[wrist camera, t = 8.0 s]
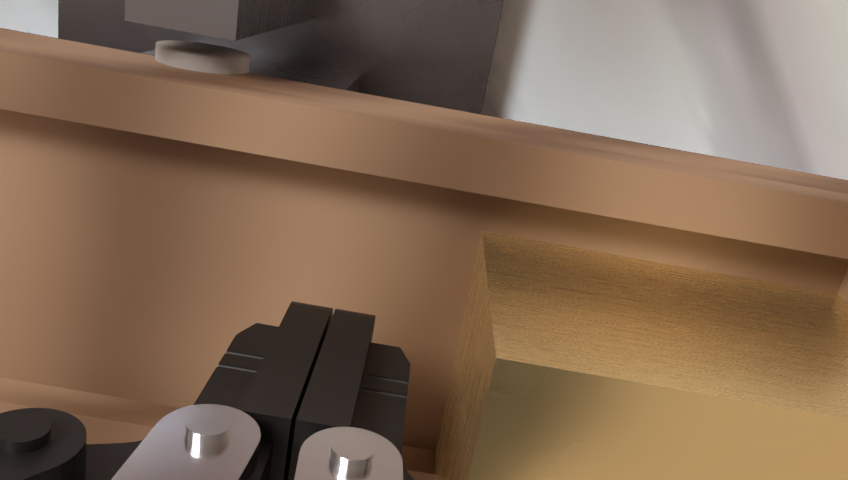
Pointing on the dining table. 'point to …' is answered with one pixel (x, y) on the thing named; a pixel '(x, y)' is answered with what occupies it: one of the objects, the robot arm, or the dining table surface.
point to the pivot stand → (317, 40)
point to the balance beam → (316, 221)
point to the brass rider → (641, 372)
